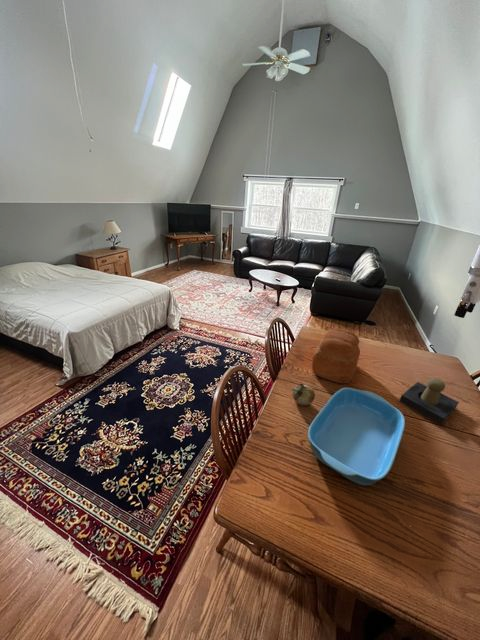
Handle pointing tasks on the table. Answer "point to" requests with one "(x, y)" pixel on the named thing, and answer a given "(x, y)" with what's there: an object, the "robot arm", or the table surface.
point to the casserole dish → (357, 435)
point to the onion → (303, 394)
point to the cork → (433, 391)
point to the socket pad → (430, 411)
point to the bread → (336, 356)
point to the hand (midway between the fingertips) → (463, 314)
